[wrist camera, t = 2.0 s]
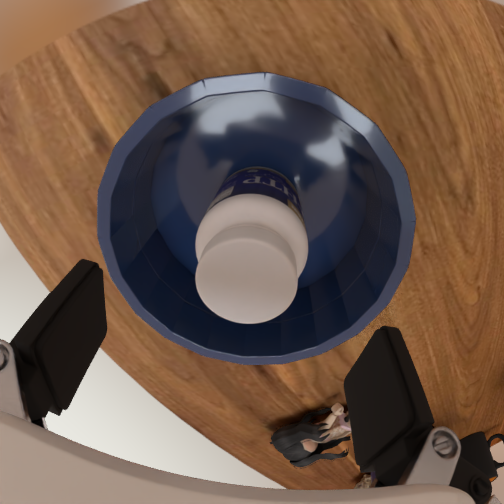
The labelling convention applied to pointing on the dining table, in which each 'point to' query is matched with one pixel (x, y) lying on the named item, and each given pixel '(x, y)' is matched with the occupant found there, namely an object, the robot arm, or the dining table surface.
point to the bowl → (209, 182)
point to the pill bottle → (251, 247)
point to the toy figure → (313, 437)
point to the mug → (480, 453)
